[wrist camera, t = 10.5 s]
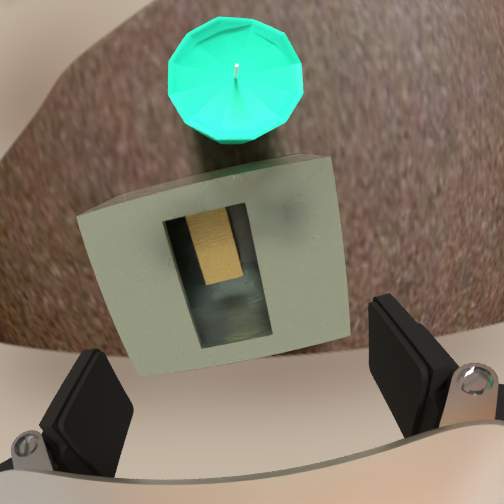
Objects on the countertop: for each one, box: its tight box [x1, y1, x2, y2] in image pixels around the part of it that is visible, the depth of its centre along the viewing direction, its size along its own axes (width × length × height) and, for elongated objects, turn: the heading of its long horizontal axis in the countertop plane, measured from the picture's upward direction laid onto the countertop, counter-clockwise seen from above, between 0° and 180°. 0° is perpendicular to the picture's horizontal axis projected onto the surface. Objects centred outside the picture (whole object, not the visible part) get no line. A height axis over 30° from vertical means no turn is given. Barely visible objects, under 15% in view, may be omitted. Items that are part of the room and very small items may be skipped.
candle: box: [168, 17, 303, 144], centre depth 16 cm, size 6×6×12 cm
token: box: [185, 206, 243, 285], centre depth 22 cm, size 2×5×5 cm
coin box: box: [76, 154, 350, 377], centre depth 21 cm, size 14×11×8 cm
